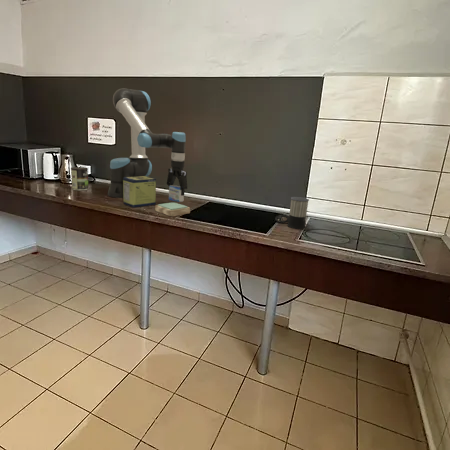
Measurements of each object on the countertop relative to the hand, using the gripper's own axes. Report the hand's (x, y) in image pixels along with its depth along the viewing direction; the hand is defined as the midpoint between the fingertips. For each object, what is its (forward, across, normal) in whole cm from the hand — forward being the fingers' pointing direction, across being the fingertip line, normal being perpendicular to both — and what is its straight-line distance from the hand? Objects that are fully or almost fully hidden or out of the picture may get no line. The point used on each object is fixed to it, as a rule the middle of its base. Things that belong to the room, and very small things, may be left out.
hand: (176, 199), depth 195 cm
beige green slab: (+4, +11, -11) cm, 16 cm away
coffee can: (+6, -69, -25) cm, 74 cm away
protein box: (+5, -13, -16) cm, 21 cm away
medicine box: (+1, 0, 0) cm, 1 cm away
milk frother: (+3, +63, +25) cm, 68 cm away
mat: (+1, +11, -11) cm, 15 cm away
